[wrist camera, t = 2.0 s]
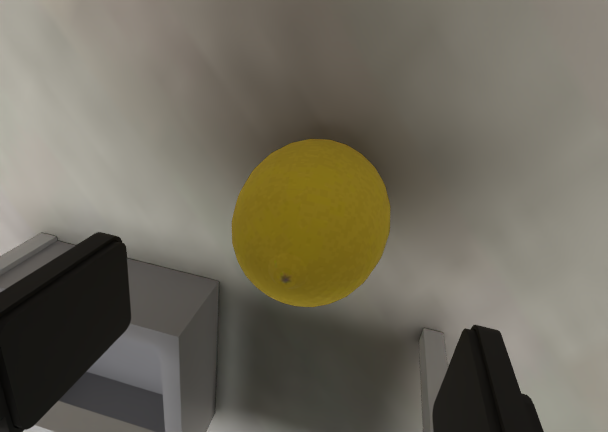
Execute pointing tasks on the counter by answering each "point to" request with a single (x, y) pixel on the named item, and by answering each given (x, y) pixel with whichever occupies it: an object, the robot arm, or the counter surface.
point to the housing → (164, 354)
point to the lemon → (311, 222)
